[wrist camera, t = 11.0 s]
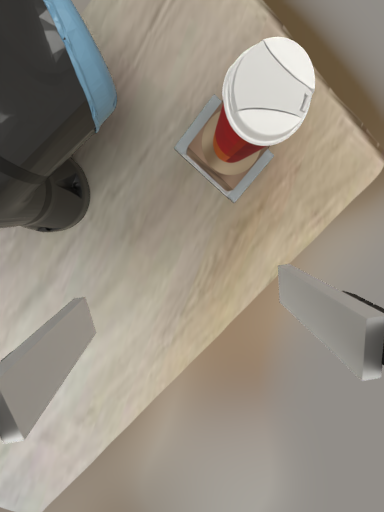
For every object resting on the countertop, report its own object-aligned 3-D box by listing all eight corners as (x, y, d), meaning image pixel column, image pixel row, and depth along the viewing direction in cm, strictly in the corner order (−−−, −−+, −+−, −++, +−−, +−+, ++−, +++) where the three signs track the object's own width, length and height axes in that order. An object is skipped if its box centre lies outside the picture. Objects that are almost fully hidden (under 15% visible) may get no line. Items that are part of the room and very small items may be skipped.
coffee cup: (265, 125, 31) (338, 55, 17) (244, 178, 33) (295, 155, 18) (215, 103, 30) (248, 7, 16) (197, 159, 32) (211, 118, 17)
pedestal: (186, 154, 36) (187, 146, 31) (223, 107, 35) (230, 90, 30) (226, 191, 38) (233, 189, 33) (263, 148, 37) (275, 139, 32)
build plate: (174, 149, 37) (173, 147, 36) (213, 97, 35) (214, 93, 34) (232, 203, 40) (234, 202, 39) (271, 156, 38) (274, 155, 37)
